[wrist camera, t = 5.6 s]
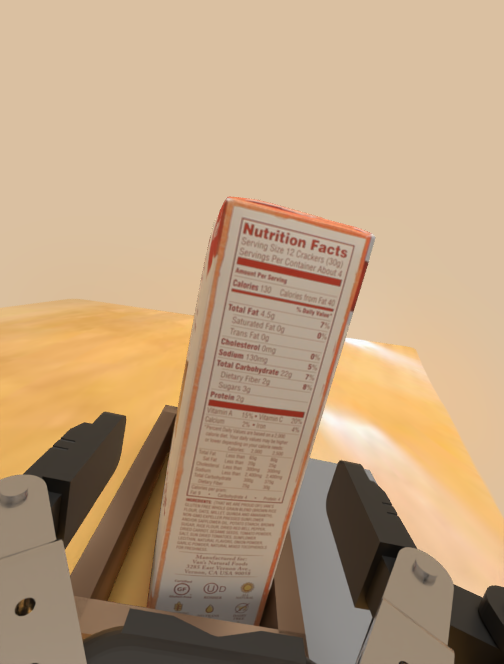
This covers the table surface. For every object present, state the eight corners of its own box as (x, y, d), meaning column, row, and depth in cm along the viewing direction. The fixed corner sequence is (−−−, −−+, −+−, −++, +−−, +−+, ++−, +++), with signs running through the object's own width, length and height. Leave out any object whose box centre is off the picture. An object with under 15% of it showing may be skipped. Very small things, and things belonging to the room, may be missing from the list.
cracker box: (164, 462, 28) (211, 218, 24) (231, 469, 29) (288, 238, 25) (129, 657, 15) (221, 181, 10) (254, 656, 16) (388, 228, 11)
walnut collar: (33, 701, 13) (41, 626, 12) (158, 442, 31) (165, 404, 30) (285, 737, 13) (310, 669, 13) (264, 463, 31) (274, 427, 30)
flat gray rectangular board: (307, 769, 13) (313, 752, 12) (271, 459, 32) (274, 451, 32) (538, 801, 13) (549, 786, 13) (366, 478, 33) (369, 470, 33)
